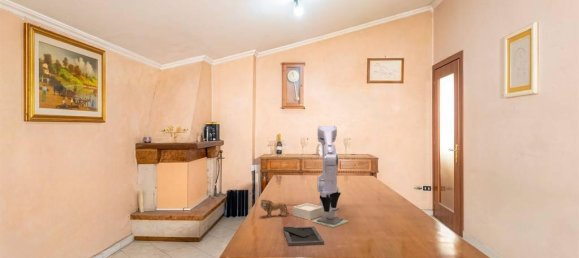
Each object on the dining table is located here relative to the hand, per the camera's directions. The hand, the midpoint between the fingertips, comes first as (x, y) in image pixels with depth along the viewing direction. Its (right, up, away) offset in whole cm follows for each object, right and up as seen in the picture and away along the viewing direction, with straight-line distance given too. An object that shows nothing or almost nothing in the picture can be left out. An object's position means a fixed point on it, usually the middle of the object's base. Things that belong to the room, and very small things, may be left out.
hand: (330, 209), depth 146 cm
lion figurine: (-26, -6, +8) cm, 28 cm away
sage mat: (0, -6, 0) cm, 6 cm away
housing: (-10, -5, +10) cm, 15 cm away
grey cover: (0, -5, 0) cm, 5 cm away
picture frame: (-14, -6, -20) cm, 25 cm away
